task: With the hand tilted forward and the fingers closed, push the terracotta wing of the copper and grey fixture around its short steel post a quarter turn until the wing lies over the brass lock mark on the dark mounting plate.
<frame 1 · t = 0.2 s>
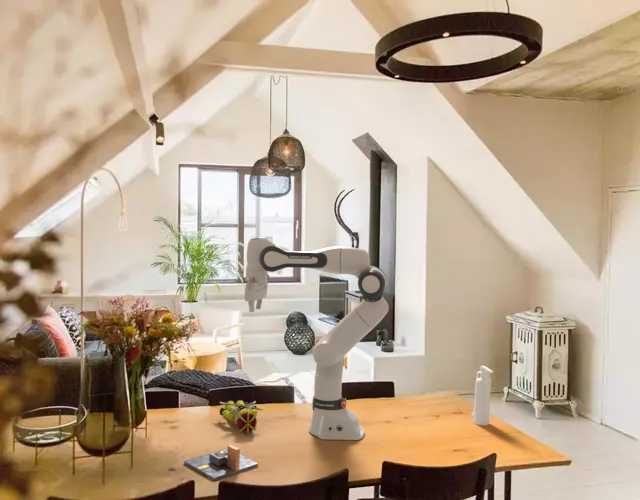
hand: (255, 310, 241), 48 cm above the table, tool pointing down, fingers open, 8 cm apart
copper and grey fixture: (226, 454, 200), point 5 cm above the table, hinge at 0.0°
toy: (240, 424, 245), on the table
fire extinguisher: (480, 423, 256), on the table
mount plate: (221, 465, 202), on the table
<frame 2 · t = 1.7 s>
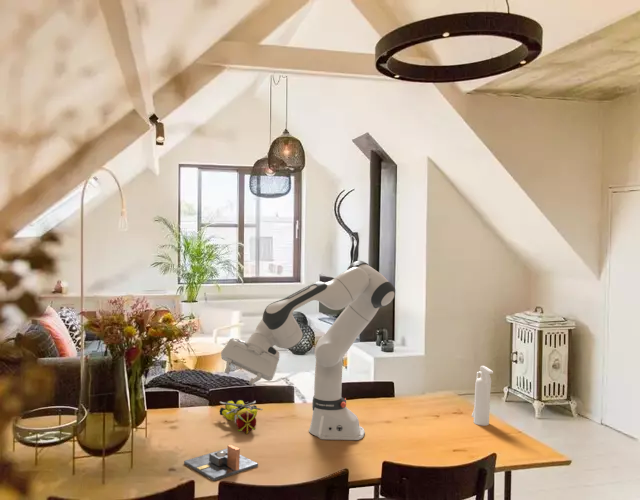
hand: (238, 378, 201), 30 cm above the table, tool tilted 50°, fingers open, 8 cm apart
nothing on the table moved.
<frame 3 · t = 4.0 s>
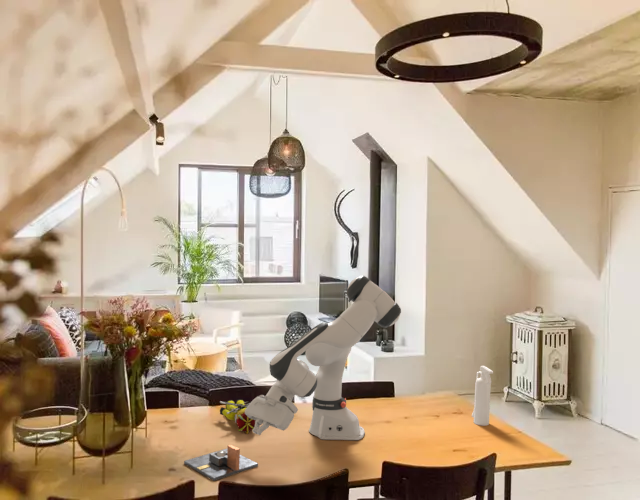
hand: (255, 433, 204), 11 cm above the table, tool tilted 45°, fingers closed
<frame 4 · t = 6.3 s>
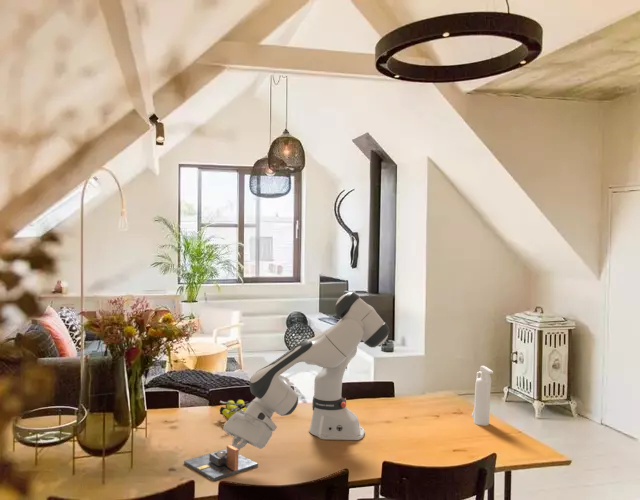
hand: (233, 450, 199), 6 cm above the table, tool tilted 45°, fingers closed, pressing on copper and grey fixture
copper and grey fixture: (226, 454, 200), point 5 cm above the table, hinge at 3.0°, touching gripper
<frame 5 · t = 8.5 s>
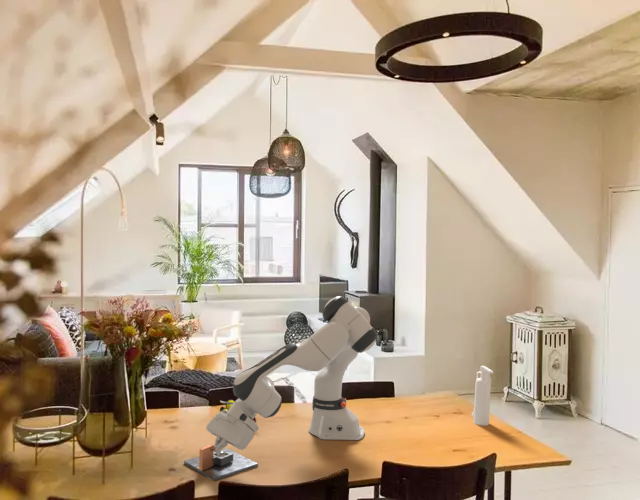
hand: (214, 451, 198), 6 cm above the table, tool tilted 45°, fingers closed, pressing on copper and grey fixture
copper and grey fixture: (214, 454, 200), point 5 cm above the table, hinge at 79.3°, touching gripper
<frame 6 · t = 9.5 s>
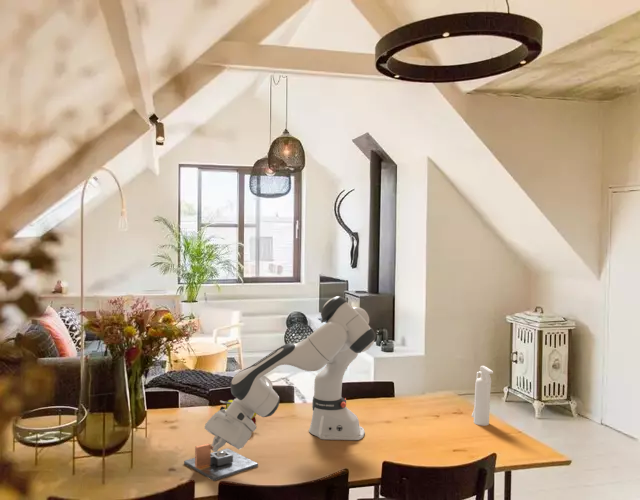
hand: (212, 450, 199), 6 cm above the table, tool tilted 45°, fingers closed, pressing on copper and grey fixture
copper and grey fixture: (212, 453, 200), point 5 cm above the table, hinge at 95.7°, touching gripper
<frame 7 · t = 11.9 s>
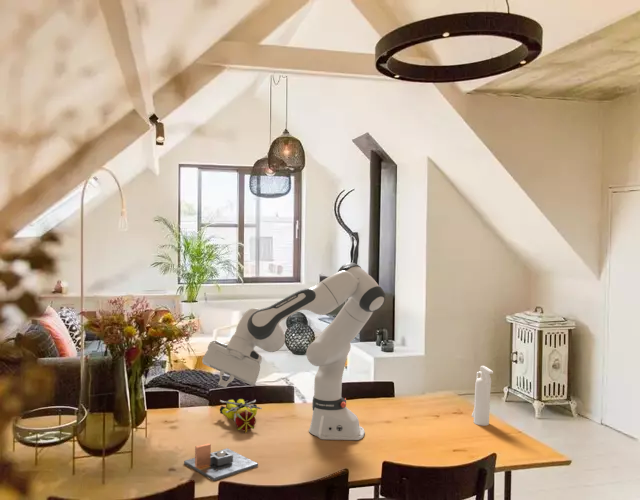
hand: (221, 385, 201), 28 cm above the table, tool tilted 40°, fingers closed
copper and grey fixture: (212, 453, 200), point 5 cm above the table, hinge at 95.8°
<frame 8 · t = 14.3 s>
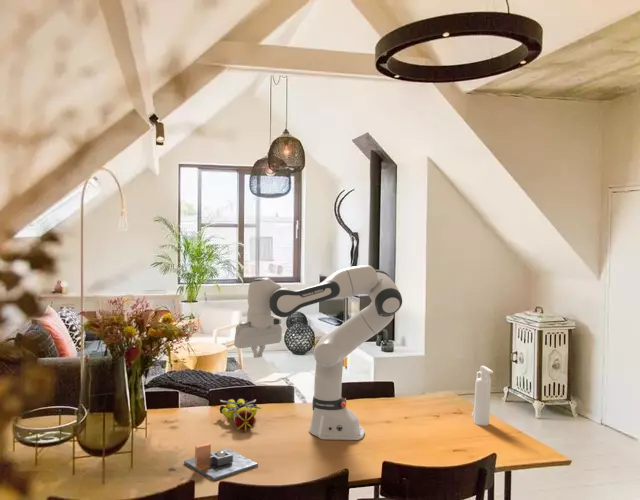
hand: (257, 357, 222), 33 cm above the table, tool pointing down, fingers closed
at the end: copper and grey fixture at +96° (first picture: +0°) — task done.
